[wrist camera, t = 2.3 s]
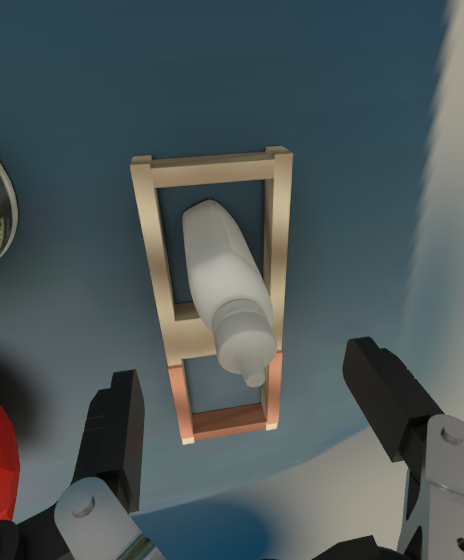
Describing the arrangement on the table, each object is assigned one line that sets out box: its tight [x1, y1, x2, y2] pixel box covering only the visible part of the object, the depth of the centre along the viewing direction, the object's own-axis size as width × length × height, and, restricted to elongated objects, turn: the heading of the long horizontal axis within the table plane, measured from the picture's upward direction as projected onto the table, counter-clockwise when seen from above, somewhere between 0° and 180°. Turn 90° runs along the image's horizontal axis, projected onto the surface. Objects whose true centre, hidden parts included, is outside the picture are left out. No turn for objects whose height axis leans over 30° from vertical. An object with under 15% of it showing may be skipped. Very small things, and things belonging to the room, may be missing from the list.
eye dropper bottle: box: [182, 199, 277, 388], centre depth 17 cm, size 4×6×12 cm
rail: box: [130, 146, 293, 444], centre depth 25 cm, size 24×8×2 cm, turn 2°
